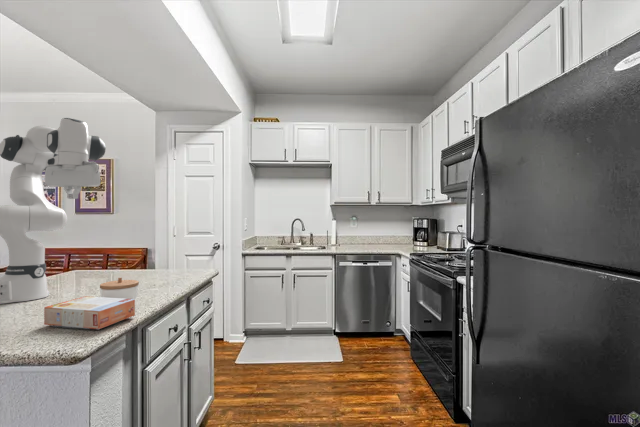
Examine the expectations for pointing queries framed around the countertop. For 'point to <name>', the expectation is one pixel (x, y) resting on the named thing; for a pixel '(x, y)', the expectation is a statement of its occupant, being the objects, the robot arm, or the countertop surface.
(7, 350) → the countertop surface
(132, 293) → the lidded bowl
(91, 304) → the cracker box
